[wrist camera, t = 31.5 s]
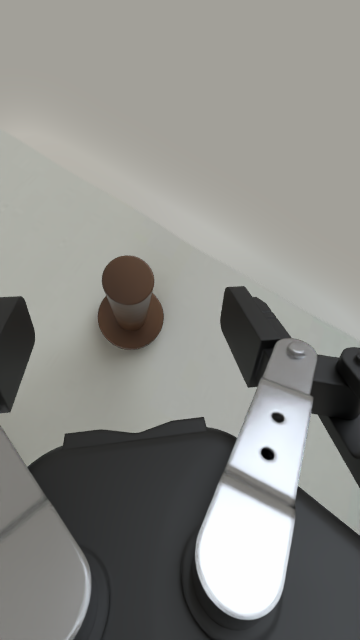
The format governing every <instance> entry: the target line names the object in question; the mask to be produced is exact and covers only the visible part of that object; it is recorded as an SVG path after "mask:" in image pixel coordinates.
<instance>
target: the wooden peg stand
mask: <svg viewBox="0 0 360 640" xmlns="http://www.w3.org/2000/svg"><path fill="white" fill-rule="evenodd" d="M102 285H103V289H104V291H105V293H106V297H105V298H104V299H103V301H102V302H101V305H100V307H99V311H98V323H99V327H100V329H101V332H102V333H103V335H104V336H105V337H106V339H107V340H108V341H110V342H111V343H112V344H113V345H115V346H117V347H119V348H122V349H127V350H135V349H140V348H143V347H145V346H147V345H148V344H150V343H151V342H152V341H153V340H154V339H155V338H156V337H157V335H158V334H159V332H160V331H161V328H162V325H163V319H164V316H163V309H162V306H161V304H160V302H159V300H158V299H157V297H156V296H155V295H154V294H153V293H152V291H153V287H154V275H153V272H152V270H151V268H150V267H149V265H148V264H147V263H146V262H145V261H143V260H142V259H140V258H138V257H135V256H120V257H118V258H115V259H114V260H112V261H111V262H110V263H109V264H108V265H107V266H106V268H105V269H104V271H103V275H102Z"/></svg>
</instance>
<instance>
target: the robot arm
mask: <svg viewBox="0 0 360 640" xmlns="http://www.w3.org/2000/svg"><path fill="white" fill-rule="evenodd" d="M220 323H221V329H222V332H223V334H224V336H225V339H226V341H227V343H228V345H229V347H230V349H231V352H232V354H233V356H234V358H235V360H236V363H237V365H238V367H239V369H240V371H241V373H242V376H243V378H244V380H245V382H246V384H247V387H248V388H250V387H257V389H256V392H255V395H254V397H253V400H252V402H251V405H250V407H249V410H248V412H247V415H246V417H245V420H244V422H243V425H242V427H241V430H240V432H239V435H238V437H237V438H236V437H235V436H233V435H231V434H229V433H227V432H224V431H221V430H218V429H214V428H208V427H206V424H205V420H204V417H200V418H191V419H183V420H175V421H170V422H167V423H165V424H162V425H159V426H156V427H154V428H151V429H148V430H146V431H143V432H140V433H128V432H119V431H110V430H93V431H85V432H76V433H68V434H65V437H64V443H63V446H61V447H58V448H56V449H54V450H52V451H50V452H48V453H46V454H44V455H43V456H41V457H40V458H38V459H37V460H36V461H34V462H33V463H31V464H30V465H29V466H28V467H27V466H26V465H25V463H24V462H23V460H22V458H21V457H20V455H19V454H18V452H17V451H16V449H15V447H14V446H13V444H12V443H11V441H10V440H9V438H8V437H7V435H6V433H5V432H4V430H3V429H2V427H1V426H0V640H360V535H358V534H357V533H356V532H355V531H353V530H352V529H351V528H350V527H348V526H347V525H346V524H345V523H343V522H342V521H341V520H340V519H338V518H337V517H336V516H335V515H333V514H332V513H331V512H330V511H328V510H327V509H326V508H325V507H323V506H322V505H321V504H320V503H318V502H317V501H316V500H315V499H313V498H312V497H311V496H310V495H308V494H307V493H306V492H305V491H303V490H302V489H301V488H300V487H298V482H299V477H300V471H301V466H302V460H303V454H304V449H305V443H306V438H307V432H308V427H309V421H310V415H311V413H312V414H318V416H319V418H320V419H321V421H322V423H323V425H324V426H325V428H326V430H327V432H328V433H329V435H330V437H331V439H332V440H333V442H334V444H335V446H336V447H337V449H338V451H339V453H340V454H341V456H342V458H343V460H344V461H345V463H346V465H347V467H348V468H349V470H350V472H351V474H352V475H353V477H354V479H355V481H356V482H357V484H358V486H359V488H360V348H356V347H351V348H346V349H344V350H343V352H342V354H341V356H340V358H337V357H330V356H323V355H318V354H317V353H316V351H315V350H314V349H313V348H312V347H311V346H310V345H309V344H307V343H306V342H303V341H301V340H298V339H294V338H291V336H290V335H289V334H288V332H287V331H286V330H285V328H284V327H283V326H282V324H281V323H280V322H279V320H278V319H276V316H275V315H274V314H273V312H271V310H270V308H269V307H268V306H267V304H266V303H265V302H263V301H262V300H260V299H259V298H257V297H252V296H251V295H250V293H249V292H248V290H247V289H246V288H245V287H244V286H240V287H227V288H226V289H225V292H224V299H223V305H222V311H221V318H220ZM34 343H35V331H34V327H33V324H32V321H31V318H30V315H29V312H28V309H27V305H26V302H25V300H24V298H23V297H21V296H18V297H0V413H8V412H11V409H12V406H13V403H14V400H15V397H16V395H17V392H18V389H19V386H20V383H21V380H22V378H23V375H24V372H25V369H26V366H27V363H28V361H29V358H30V355H31V352H32V349H33V346H34Z"/></svg>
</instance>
